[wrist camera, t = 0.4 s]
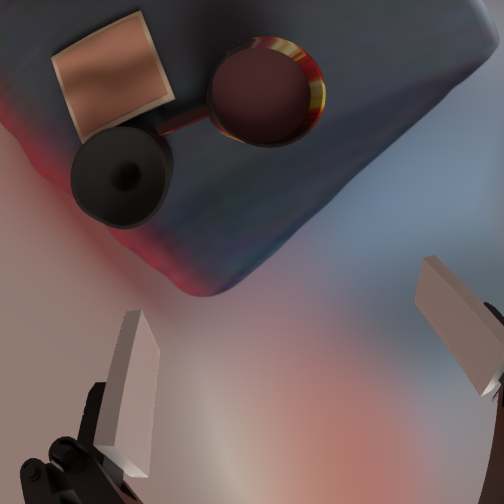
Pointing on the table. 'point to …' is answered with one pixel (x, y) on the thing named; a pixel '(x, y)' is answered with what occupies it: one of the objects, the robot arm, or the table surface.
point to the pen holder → (122, 176)
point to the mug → (260, 94)
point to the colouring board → (112, 76)
